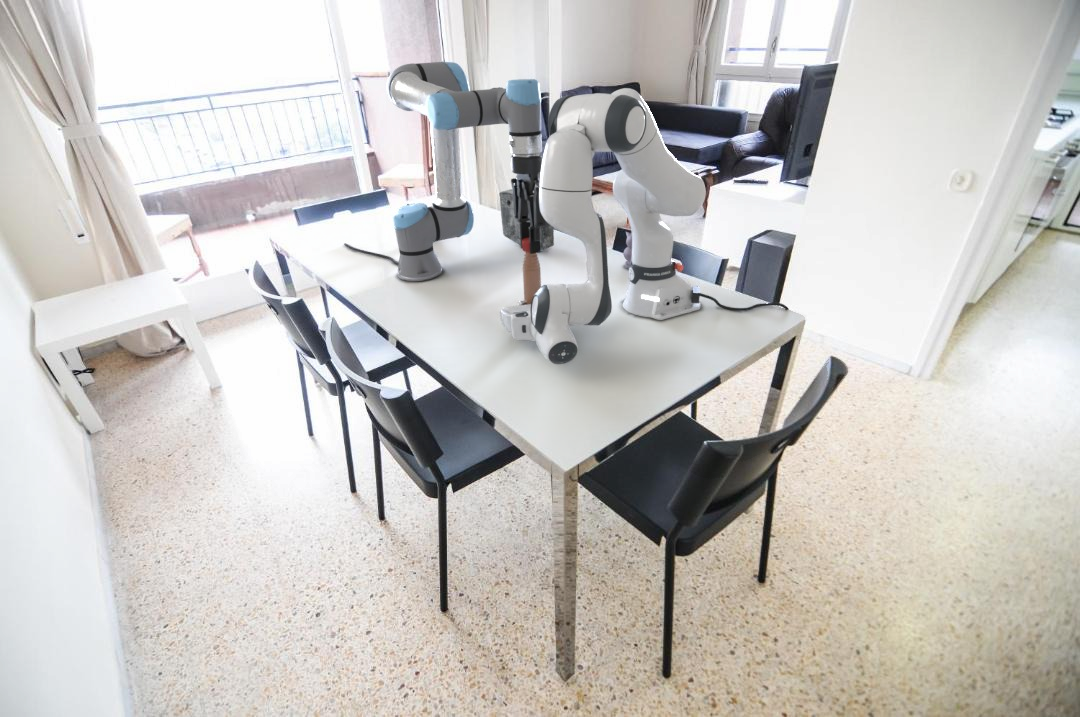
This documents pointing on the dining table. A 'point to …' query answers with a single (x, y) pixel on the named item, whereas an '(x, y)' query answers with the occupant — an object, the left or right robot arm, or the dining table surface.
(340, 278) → the dining table surface
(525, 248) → the cap
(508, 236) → the concrete block
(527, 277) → the bottle
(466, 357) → the dining table surface
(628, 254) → the cat figurine
